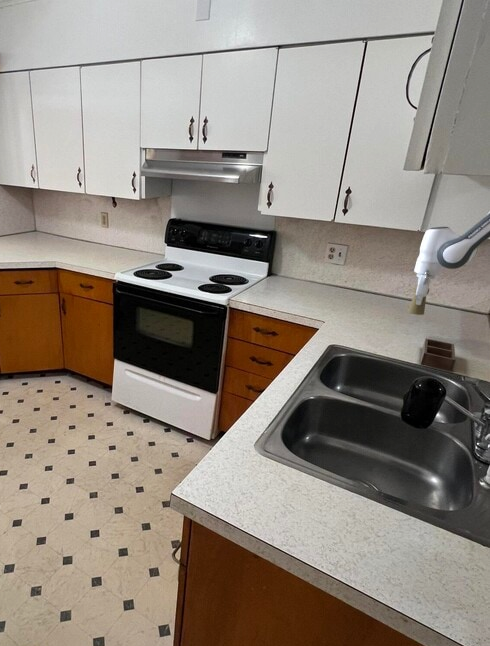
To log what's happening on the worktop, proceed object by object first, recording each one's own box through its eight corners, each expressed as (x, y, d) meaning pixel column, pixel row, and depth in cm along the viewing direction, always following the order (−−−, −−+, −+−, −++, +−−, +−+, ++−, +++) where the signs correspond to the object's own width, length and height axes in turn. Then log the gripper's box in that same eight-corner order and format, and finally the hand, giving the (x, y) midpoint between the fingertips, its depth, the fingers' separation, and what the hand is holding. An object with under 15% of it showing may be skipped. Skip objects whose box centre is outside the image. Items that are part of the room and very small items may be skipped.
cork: (416, 310, 176) (424, 284, 172) (427, 314, 170) (435, 288, 166) (404, 310, 175) (410, 284, 171) (414, 314, 169) (421, 288, 165)
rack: (450, 355, 155) (454, 344, 153) (451, 372, 141) (455, 360, 139) (422, 349, 159) (425, 338, 157) (420, 365, 145) (424, 352, 143)
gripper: (436, 274, 156) (426, 310, 161) (437, 266, 173) (427, 298, 178) (417, 271, 159) (408, 307, 164) (419, 263, 176) (411, 296, 181)
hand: (418, 302), depth 171 cm, fingers closed on cork, 4 cm apart
